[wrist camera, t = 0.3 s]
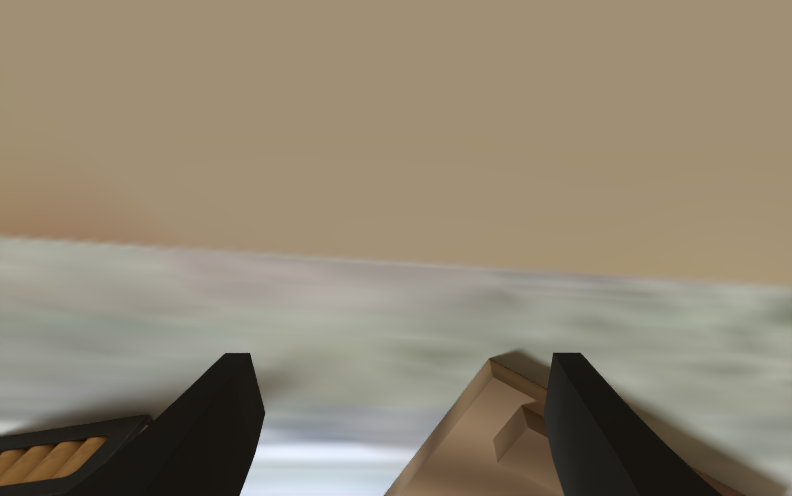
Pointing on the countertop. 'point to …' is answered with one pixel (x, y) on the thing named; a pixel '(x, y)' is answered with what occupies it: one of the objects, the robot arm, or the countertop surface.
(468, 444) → the cradle block
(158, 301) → the countertop surface
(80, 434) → the ammunition clip
